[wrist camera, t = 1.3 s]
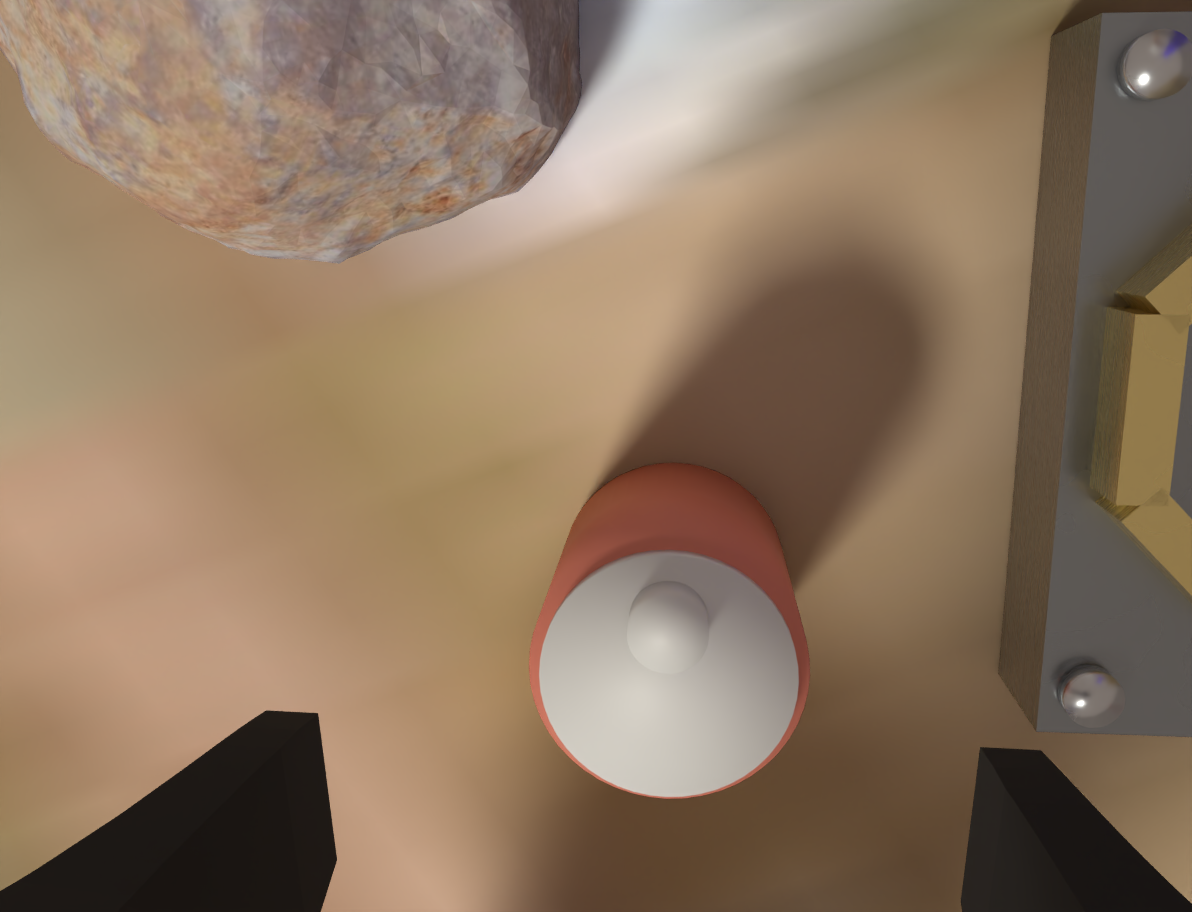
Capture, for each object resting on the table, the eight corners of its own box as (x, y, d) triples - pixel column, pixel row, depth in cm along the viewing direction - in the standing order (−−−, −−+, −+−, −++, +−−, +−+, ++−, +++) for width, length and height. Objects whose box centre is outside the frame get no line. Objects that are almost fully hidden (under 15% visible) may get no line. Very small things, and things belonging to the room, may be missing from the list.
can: (780, 675, 23) (811, 839, 17) (564, 668, 23) (522, 826, 17) (787, 464, 22) (822, 560, 16) (562, 461, 22) (516, 553, 16)
